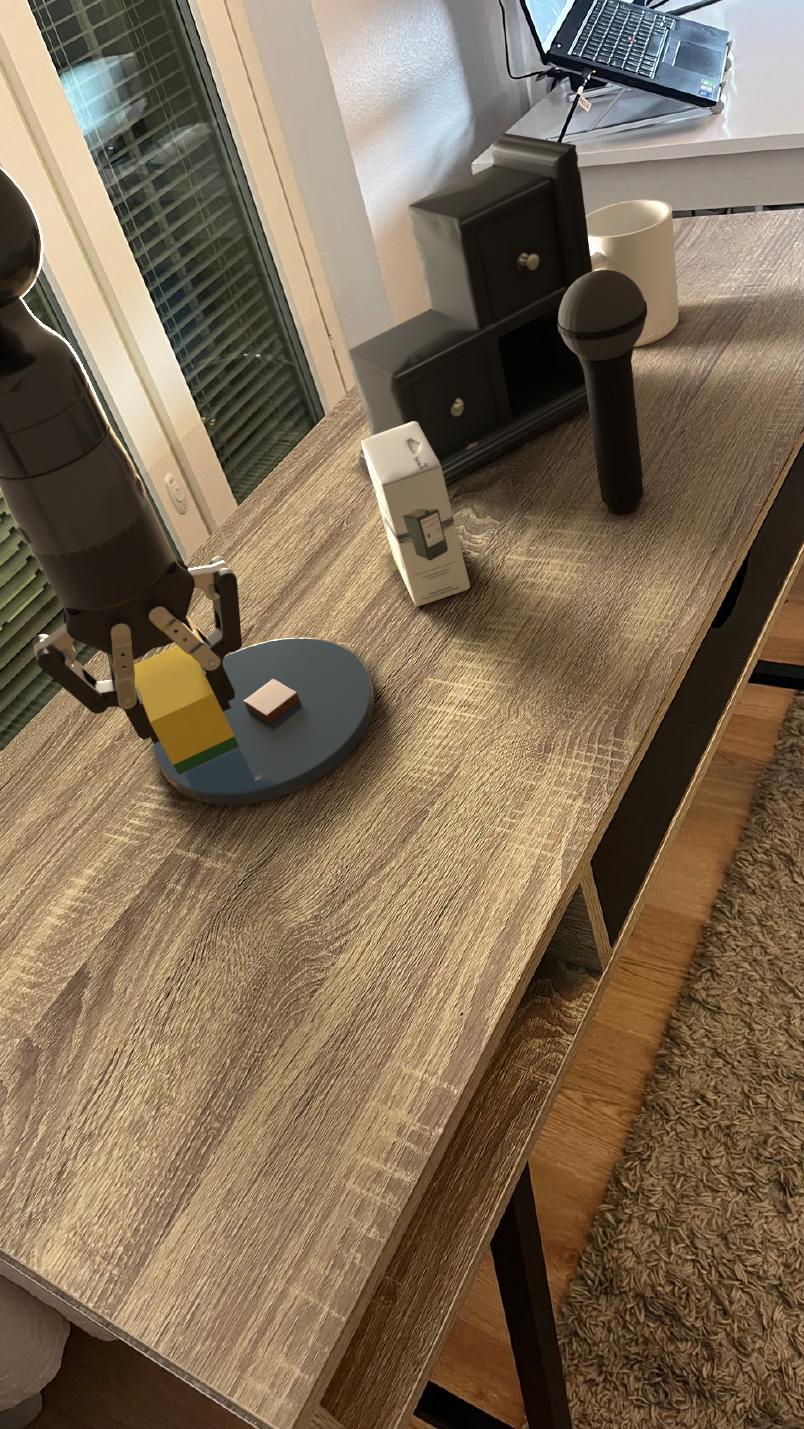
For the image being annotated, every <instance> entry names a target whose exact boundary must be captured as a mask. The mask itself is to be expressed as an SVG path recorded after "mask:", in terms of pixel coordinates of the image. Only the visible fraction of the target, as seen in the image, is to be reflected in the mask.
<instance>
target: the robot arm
mask: <svg viewBox="0 0 804 1429" xmlns="http://www.w3.org/2000/svg"><path fill="white" fill-rule="evenodd" d="M42 236H43V234H42V231H41V227H40V223H39V219H38V217H37V215H36V213H35V210H34V209H33V206H32V204H31V202H30V201H29V199H28V198H27V196H26V195H25V193H24V192H23V190H22V188H20V186H19V185H18V184H17V183H16V181H15V180H14V179H13V178H12V176H10V174H8V173H7V172H6V171H5V170H4V169H3V168H2V167H1V166H0V492H1V495H2V498H3V499H4V502H5V505H6V507H7V509H8V511H9V513H10V515H11V517H12V519H13V520H14V522H15V524H16V525H17V531H18V533H19V535H20V537H21V538H22V540H23V541H24V542H25V544H27V545H28V547H29V549H30V551H31V552H32V555H33V556H34V557H35V559H36V561H37V564H38V565H39V567H40V568H41V570H42V572H43V574H44V575H45V577H46V579H47V581H48V583H49V584H50V586H51V588H52V590H53V592H54V593H55V595H56V597H57V598H58V601H59V602H60V604H61V606H62V607H63V622H64V623H63V624H62V625H61V626H59V627H58V628H57V629H56V630H54V631H53V632H51V634H49V635H48V634H44V633H41V634H38V635H36V636H35V637H33V640H32V646H33V651H34V655H35V659H36V661H37V665H38V667H39V668H40V669H41V670H42V671H43V672H45V673H46V674H47V675H48V676H49V677H51V678H52V679H53V680H54V681H55V682H56V683H58V684H59V685H60V686H61V687H62V688H63V689H64V690H66V691H67V693H69V694H70V695H71V696H72V697H73V698H75V699H76V700H77V701H78V702H80V703H81V705H83V706H84V707H85V708H87V710H89V711H90V712H91V713H92V714H96V715H98V714H103V713H104V712H105V711H106V710H108V709H109V708H120V709H122V710H123V712H124V713H125V715H126V717H127V719H128V720H129V723H130V724H131V726H132V728H133V729H134V731H135V733H136V735H137V736H138V737H139V738H140V739H141V740H143V741H145V740H147V739H151V741H152V743H153V745H154V744H155V743H157V742H159V741H160V740H159V738H158V737H157V735H156V733H155V731H154V729H153V727H152V726H151V724H150V721H149V719H148V716H147V713H146V711H145V708H144V705H143V703H142V700H141V697H140V695H139V692H138V689H137V687H136V684H135V670H134V665H135V663H134V662H135V660H138V659H140V658H142V657H144V656H145V655H147V654H148V653H149V652H151V651H152V650H153V649H157V648H162V647H166V646H169V645H171V644H173V643H174V644H176V646H177V645H178V646H179V647H180V648H181V649H182V650H183V651H184V652H185V653H186V654H188V655H189V654H190V655H191V656H192V657H193V658H194V659H195V660H196V661H197V662H198V663H199V664H200V665H201V667H202V669H203V671H204V673H205V676H206V678H207V680H208V682H209V684H210V686H211V688H212V690H213V692H214V694H215V697H216V699H217V701H218V703H219V705H220V707H221V709H222V711H223V712H224V711H226V710H228V709H230V708H231V707H230V704H229V702H228V701H230V700H232V699H234V698H235V691H234V689H233V687H232V685H231V682H230V680H229V678H228V676H227V674H226V671H225V669H224V667H223V659H224V657H225V656H227V655H229V654H230V653H233V652H236V651H238V650H241V649H242V645H243V638H242V627H241V614H240V601H239V586H238V578H237V576H236V574H235V572H234V571H233V569H232V567H231V566H230V564H229V563H228V560H227V559H226V558H225V557H223V556H214V557H213V558H212V559H211V560H210V562H209V564H208V565H203V566H198V567H192V568H189V566H187V565H186V564H185V563H183V562H182V561H181V560H179V559H178V558H177V557H176V555H175V553H174V551H173V549H172V547H171V545H170V543H169V539H168V538H167V535H166V533H165V532H164V529H163V527H162V525H161V523H160V521H159V518H158V516H157V514H156V512H155V509H154V507H153V506H152V504H151V501H150V499H149V497H148V495H147V492H146V489H145V485H144V483H143V480H142V479H141V478H140V476H139V474H138V473H137V470H136V469H135V465H134V463H133V462H132V460H131V458H130V456H129V454H128V452H127V450H126V449H125V447H124V446H123V444H122V443H121V441H120V440H119V438H118V437H117V435H116V433H115V432H114V430H113V428H112V426H111V424H110V422H109V420H108V418H107V415H106V414H105V413H106V412H105V411H104V409H103V407H102V404H101V403H100V401H99V398H98V396H97V394H96V392H95V389H94V387H93V386H92V382H91V381H90V379H89V376H88V375H87V372H86V370H85V369H84V367H83V364H82V363H81V361H80V359H79V357H78V355H77V354H76V352H75V351H74V349H73V348H72V346H71V345H70V343H69V342H68V341H67V340H66V339H65V338H63V337H62V336H61V335H60V334H58V333H57V332H56V331H54V330H52V329H51V328H50V327H48V326H46V325H45V324H43V323H42V322H41V321H40V320H39V319H38V318H36V316H34V314H33V313H32V311H31V310H30V309H29V307H28V306H27V304H26V303H25V301H24V300H23V297H24V296H25V295H26V294H27V293H28V292H29V291H30V289H31V288H32V287H33V286H34V284H35V282H36V280H37V278H38V275H39V273H40V270H41V267H42V263H43V252H44V244H43V237H42ZM195 588H197V589H201V591H202V592H203V594H204V596H205V598H206V599H208V600H209V601H212V609H213V621H214V630H212V632H210V633H209V634H208V635H207V634H205V633H204V632H203V631H202V630H201V629H200V628H199V627H198V626H196V624H195V623H194V622H193V620H192V618H190V617H189V615H188V613H189V610H190V606H191V602H192V598H193V594H194V592H195ZM75 641H76V642H79V643H81V644H84V645H86V646H88V647H91V648H92V649H95V650H98V651H100V652H103V653H105V654H106V656H107V661H108V664H109V672H110V673H109V674H110V679H109V680H107V679H106V680H101V681H100V680H99V679H98V678H97V677H95V676H94V675H93V674H92V672H90V671H89V670H88V669H87V668H86V667H84V666H83V665H82V664H81V663H80V662H79V661H78V660H77V653H76V648H75V646H74V643H75Z"/></svg>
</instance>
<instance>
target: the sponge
mask: <svg viewBox="0 0 804 1429" xmlns="http://www.w3.org/2000/svg"><path fill="white" fill-rule="evenodd" d="M134 670H135V686H136V687H137V689H138V692H139V695H140V697H141V700H142V703H143V705H144V708H145V711H146V713H147V716H148V719H149V721H150V724H151V726H152V727H153V729H154V731H155V733H156V735H157V737H158V738H159V740H160V742H161V744H162V746H163V748H164V749H165V751H166V753H167V755H168V757H169V759H170V760H171V762H172V764H173V766H174V768H175V770H176V771H177V773H178V774H179V775H180V774H182V773H184V772H186V771H188V770H191V769H193V768H195V767H197V766H199V765H201V764H203V763H205V762H208V761H210V760H212V759H214V758H216V757H218V756H220V755H223V754H225V753H227V752H229V751H231V750H233V749H235V748H237V747H239V745H238V743H237V741H236V738H235V736H234V734H233V732H232V730H231V728H230V726H229V724H228V722H227V719H226V717H225V715H224V713H223V711H222V709H221V707H220V705H219V703H218V701H217V699H216V697H215V694H214V692H213V690H212V688H211V686H210V684H209V682H208V680H207V678H206V676H205V673H204V671H203V669H202V667H201V665H200V664H199V663H198V662H197V661H196V660H195V659H194V658H193V657H192V656H191V655H190V654H189V655H188V654H186V653H185V652H184V651H183V650H182V649H181V648H180V647H179V646H178V645H177V644H176V645H175V646H173V647H171V648H168V649H166V650H164V651H162V652H160V653H158V654H155V655H153V656H151V657H148V658H147V659H145V660H142V661H140V662H137V663H136V664H135V663H134Z"/></svg>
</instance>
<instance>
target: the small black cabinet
mask: <svg viewBox="0 0 804 1429" xmlns="http://www.w3.org/2000/svg"><path fill="white" fill-rule="evenodd" d="M491 151H492V152H491V156H492V159H493V164H492V165H490V166H488V167H486V168H484V169H482V170H479V171H478V172H475V173H473V174H472V175H469V176H467V177H464V178H463V179H460V180H458V181H456V182H454V183H452V184H449V185H447V186H446V187H444V188H441V189H439V190H436V191H435V192H433V193H430V194H428V195H426V196H424V197H421V198H420V199H418V200H416V201H415V200H414V201H413V202H411V203H409V204H408V205H407V211H408V216H409V221H410V225H411V226H410V227H411V229H412V230H411V231H412V235H413V239H414V243H415V248H416V253H417V255H418V260H419V265H420V269H421V272H422V278H423V282H424V286H425V290H426V295H427V296H426V297H427V300H428V304H429V309H427V310H425V311H422V312H421V313H419V314H418V315H415V316H413V317H411V318H409V319H407V320H405V321H403V322H401V323H399V324H397V325H395V326H394V327H391V328H389V329H387V330H385V331H384V332H381V333H379V334H377V335H375V336H373V337H371V338H370V339H368V340H365V341H364V342H361V343H360V344H357V345H355V346H354V347H352V348H350V349H348V350H347V351H346V353H347V358H348V362H349V365H350V367H351V372H352V375H353V379H354V383H355V386H356V389H357V392H358V396H359V399H360V401H361V405H362V406H361V407H362V409H363V412H364V416H365V419H366V422H367V423H366V424H367V425H368V429H369V432H370V436H372V435H375V434H378V433H381V432H384V431H387V430H390V429H393V428H396V427H398V426H401V425H404V424H407V423H409V422H413V421H414V422H415V421H416V422H417V423H419V426H420V428H421V430H422V431H423V433H424V435H425V437H426V439H427V441H428V443H429V444H430V446H431V448H432V450H433V452H434V454H435V455H436V457H437V459H438V460H439V463H440V465H441V468H442V472H443V476H444V481H445V485H446V486H448V485H449V484H451V483H452V482H454V481H456V480H458V479H461V478H462V477H463V476H466V475H468V474H469V473H472V472H473V471H475V470H476V469H478V468H480V467H482V466H484V465H486V464H487V463H489V462H491V461H493V460H494V459H497V458H498V457H500V456H502V455H504V454H505V453H508V452H509V451H511V450H513V449H515V448H516V447H518V446H520V445H522V444H523V443H525V442H527V441H529V440H530V439H533V438H534V437H536V436H538V435H539V434H541V433H544V432H545V431H547V430H549V429H551V428H552V427H555V426H556V425H557V424H559V423H561V422H563V421H565V420H567V419H569V418H570V417H572V416H574V415H576V414H578V413H579V412H581V411H584V410H585V409H587V408H589V405H588V397H587V390H586V382H585V374H584V369H583V366H582V364H581V362H580V360H579V357H578V355H577V354H575V353H574V352H573V351H571V350H570V348H569V347H568V346H567V345H566V343H565V342H564V340H563V338H562V335H561V334H560V332H559V330H558V324H557V319H558V314H559V308H560V305H561V302H562V299H563V297H564V295H565V293H566V292H567V290H568V289H569V287H570V286H571V285H572V284H573V283H574V282H575V281H576V280H577V279H579V278H580V277H582V276H584V275H585V274H587V273H589V272H592V271H593V270H592V262H591V255H590V247H589V239H588V230H587V222H586V215H587V214H586V208H585V201H584V192H583V184H582V176H581V171H580V169H579V165H578V162H579V156H578V153H577V152H578V151H577V145H576V144H573V143H566V142H560V141H555V140H549V139H544V138H536V137H531V136H527V135H520V134H513V133H506V132H504V133H501V134H499V135H498V136H497V139H496V140H494V142H493V144H492V147H491ZM358 465H359V467H360V468H361V469H363V470H364V471H366V472H367V473H369V474H370V472H369V469H368V465H367V462H366V458H365V455H364V451H363V448H361V449H360V450H359V453H358Z"/></svg>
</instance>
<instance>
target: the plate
mask: <svg viewBox="0 0 804 1429" xmlns="http://www.w3.org/2000/svg"><path fill="white" fill-rule="evenodd" d="M223 667H224V669H225V671H226V674H227V676H228V678H229V680H230V682H231V685H232V687H233V689H234V691H235V698H234V699H232V700H230V701H228V702H229V704H230V707H231V708H230V709H228V710H226V711H224V712H223V713H224V715H225V717H226V719H227V722H228V724H229V726H230V728H231V730H232V732H233V734H234V736H235V738H236V741H237V743H238V745H239V747H237V748H235V749H233V750H231V751H229V752H227V753H225V754H223V755H220V756H218V757H216V758H214V759H212V760H210V761H208V762H205V763H203V764H201V765H199V766H197V767H195V768H193V769H191V770H188V771H186V772H184V773H182V774H180V775H179V774H178V773H177V771H176V770H175V768H174V766H173V764H172V762H171V760H170V759H169V757H168V755H167V753H166V751H165V749H164V748H163V746H162V744H161V742H160V741H159V742H157V743H155V744H154V743H153V752H154V757H155V760H156V762H157V764H158V766H159V769H160V771H161V772H162V774H163V776H164V778H165V779H166V780H167V781H168V783H169V784H170V785H171V786H172V787H173V788H174V789H175V790H176V791H178V792H179V793H181V794H183V795H184V796H186V797H188V798H190V799H193V800H195V801H198V802H202V803H206V804H211V805H219V806H244V805H251V804H252V805H253V804H259V803H262V802H267V801H272V800H274V799H277V798H280V797H284V796H287V795H289V794H291V793H294V792H296V791H298V790H301V789H303V788H305V787H307V786H309V785H310V784H312V783H314V782H316V781H317V780H319V779H321V778H322V777H324V776H325V775H327V774H328V773H329V772H331V771H333V769H335V768H336V767H337V766H338V765H340V764H341V763H342V762H343V761H344V760H345V759H346V758H347V757H348V756H349V755H350V754H351V753H352V752H353V750H354V749H355V748H356V747H357V746H358V745H359V743H360V742H361V740H362V739H363V737H364V736H365V734H366V732H367V731H368V728H369V726H370V724H371V721H372V719H373V714H374V711H375V703H376V698H375V689H374V686H373V682H372V680H371V676H370V673H369V671H368V669H367V667H366V666H365V664H364V663H363V661H362V660H361V659H360V658H359V657H358V656H357V655H356V654H355V653H353V652H352V651H351V650H349V649H348V648H346V647H344V646H342V645H340V644H337V643H335V642H332V641H328V640H324V639H319V638H313V637H312V638H311V637H289V638H288V637H287V638H280V639H279V638H278V639H273V640H268V641H264V642H259V643H256V644H252V645H250V646H247V647H244V648H240V649H239V650H238V651H236V652H230V653H228V654H227V655H226V656H225V657H224V659H223ZM272 679H275V680H277V681H278V682H280V683H282V684H283V685H285V686H287V687H288V688H290V689H292V690H293V691H295V692H297V694H298V697H299V699H300V700H299V701H298V702H297V703H295V704H294V705H293V706H292V707H290V708H289V709H288V710H286V711H285V712H284V713H283V714H281V715H280V716H279V717H277V718H276V719H275V720H273V721H272V722H271V723H268V722H267V721H265V720H264V719H262V718H261V717H259V716H258V715H256V714H255V713H253V712H251V711H250V710H248V709H247V708H246V706H245V703H244V700H246V699H247V698H248V697H250V696H251V695H252V694H254V693H255V692H256V691H258V690H259V689H260V688H262V687H263V686H264V685H266V684H267V683H268V682H270V681H271V680H272Z"/></svg>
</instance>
